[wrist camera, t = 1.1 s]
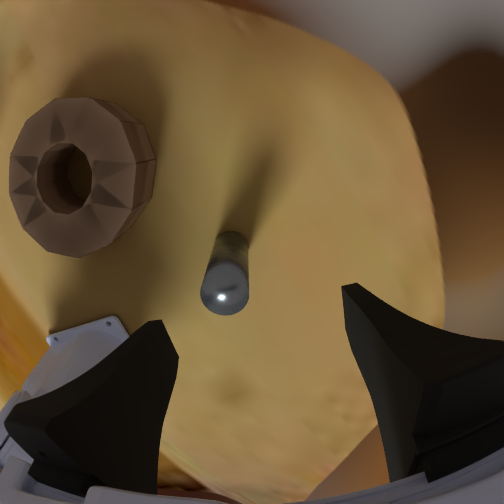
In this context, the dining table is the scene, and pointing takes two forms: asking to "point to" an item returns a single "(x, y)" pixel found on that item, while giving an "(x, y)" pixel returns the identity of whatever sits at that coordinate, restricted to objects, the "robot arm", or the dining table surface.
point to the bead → (103, 174)
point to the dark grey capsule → (227, 275)
